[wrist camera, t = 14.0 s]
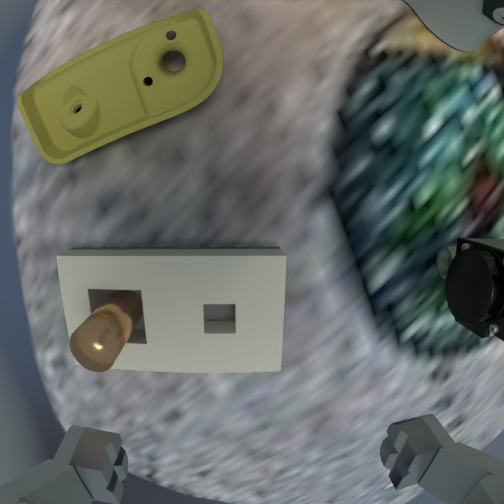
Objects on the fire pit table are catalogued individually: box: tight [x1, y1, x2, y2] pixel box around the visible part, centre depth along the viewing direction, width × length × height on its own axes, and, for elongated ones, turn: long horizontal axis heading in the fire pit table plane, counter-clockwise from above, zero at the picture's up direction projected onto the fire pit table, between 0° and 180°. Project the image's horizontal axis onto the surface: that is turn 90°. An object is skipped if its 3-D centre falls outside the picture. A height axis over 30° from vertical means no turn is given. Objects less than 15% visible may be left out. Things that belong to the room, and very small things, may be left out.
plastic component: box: [17, 8, 223, 165], centre depth 26 cm, size 20×7×10 cm
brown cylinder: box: [70, 290, 143, 372], centre depth 26 cm, size 4×4×10 cm
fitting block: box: [56, 247, 287, 373], centre depth 31 cm, size 22×12×4 cm, turn 89°
